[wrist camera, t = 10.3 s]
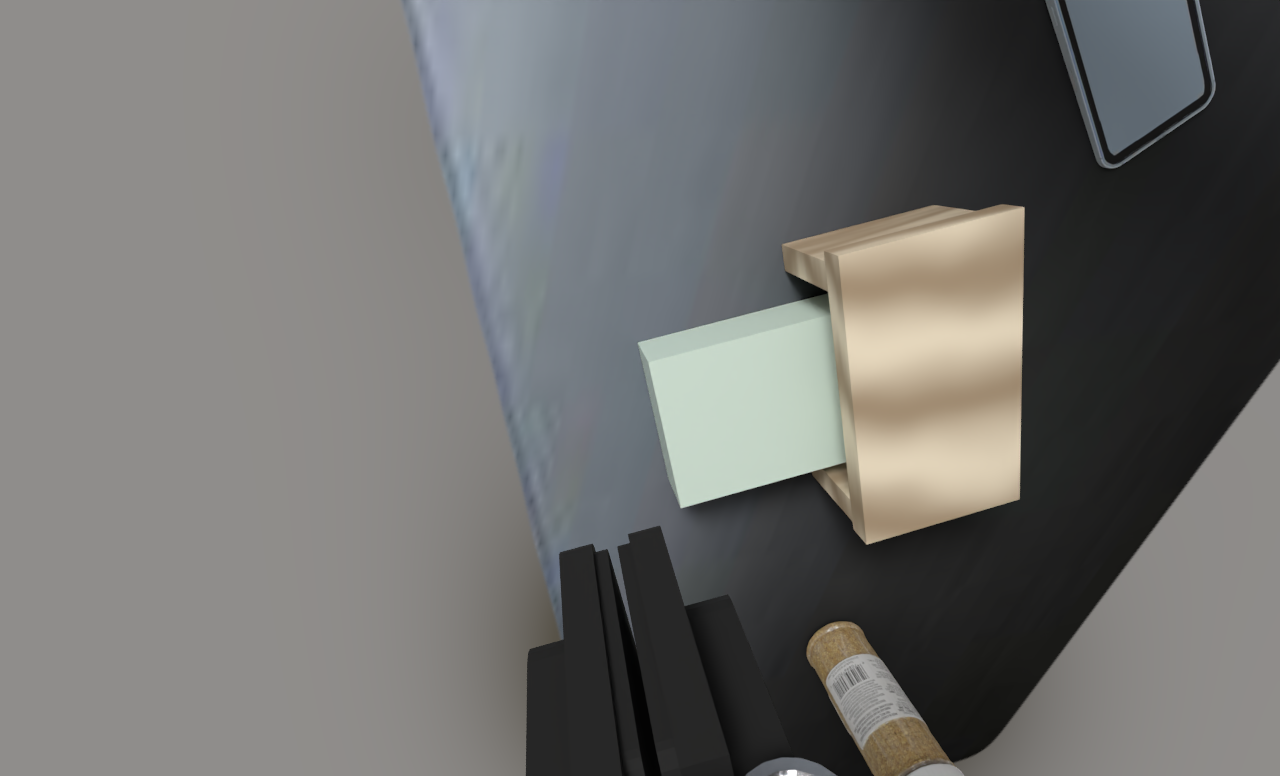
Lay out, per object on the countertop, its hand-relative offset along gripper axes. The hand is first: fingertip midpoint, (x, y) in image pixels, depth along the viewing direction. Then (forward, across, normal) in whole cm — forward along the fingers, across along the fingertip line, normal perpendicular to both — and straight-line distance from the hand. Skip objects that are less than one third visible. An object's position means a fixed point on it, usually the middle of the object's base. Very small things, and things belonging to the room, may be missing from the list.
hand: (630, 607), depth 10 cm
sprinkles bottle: (+24, -12, +31) cm, 41 cm away
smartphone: (+27, -32, -6) cm, 42 cm away
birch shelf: (+25, -16, +9) cm, 31 cm away
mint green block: (+25, -11, +10) cm, 29 cm away
